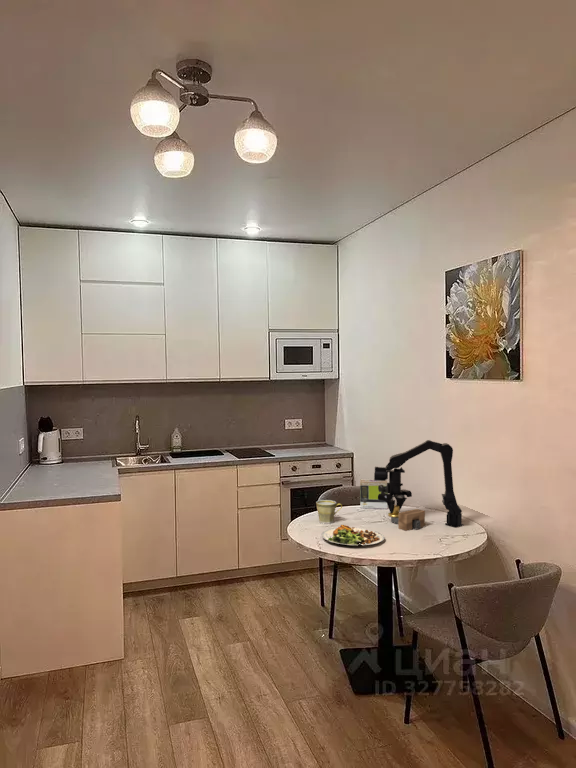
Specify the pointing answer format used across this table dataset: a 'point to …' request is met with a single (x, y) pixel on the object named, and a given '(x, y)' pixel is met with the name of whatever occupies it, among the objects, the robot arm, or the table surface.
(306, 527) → the table surface
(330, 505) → the ceramic cup
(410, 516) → the block
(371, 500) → the tea box
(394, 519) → the grey sliding bolt
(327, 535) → the plate of food
